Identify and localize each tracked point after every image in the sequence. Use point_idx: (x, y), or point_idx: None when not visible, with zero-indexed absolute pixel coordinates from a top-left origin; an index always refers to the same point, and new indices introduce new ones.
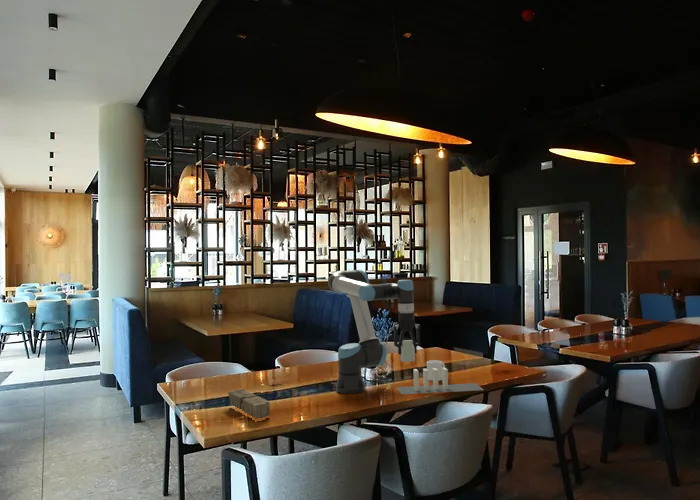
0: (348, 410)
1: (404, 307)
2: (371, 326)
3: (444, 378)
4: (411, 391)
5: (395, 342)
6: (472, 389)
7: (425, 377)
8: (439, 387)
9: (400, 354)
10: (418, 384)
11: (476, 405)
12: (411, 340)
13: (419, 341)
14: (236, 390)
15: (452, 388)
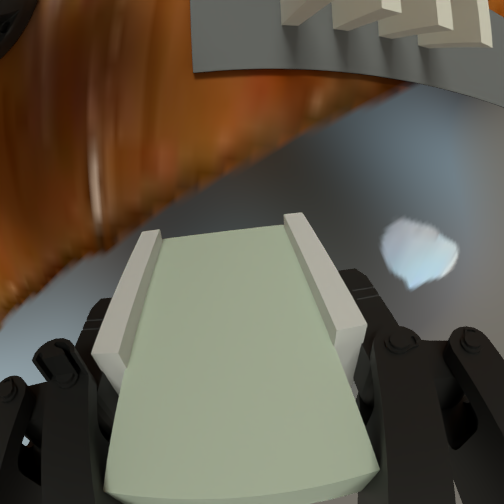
0: (16, 274)
1: None
2: None
3: (449, 38)
4: (256, 28)
5: (35, 476)
6: (494, 89)
7: (363, 16)
8: None
9: (125, 278)
10: (305, 18)
11: (436, 257)
12: (340, 495)
13: (462, 431)
14: None
15: None
